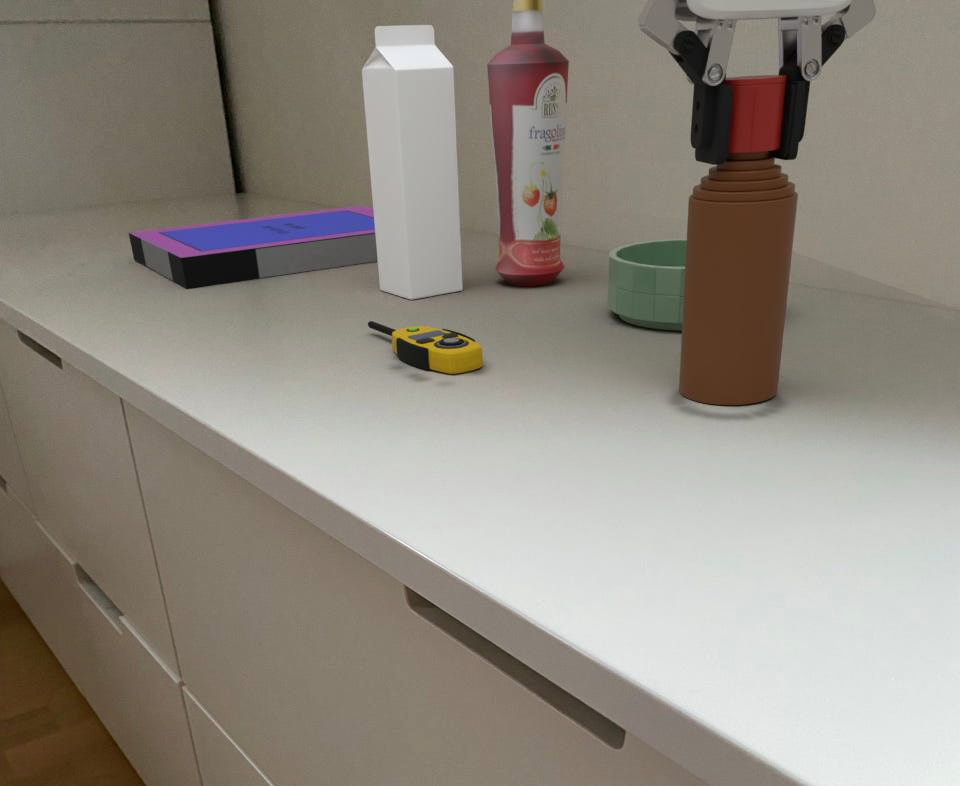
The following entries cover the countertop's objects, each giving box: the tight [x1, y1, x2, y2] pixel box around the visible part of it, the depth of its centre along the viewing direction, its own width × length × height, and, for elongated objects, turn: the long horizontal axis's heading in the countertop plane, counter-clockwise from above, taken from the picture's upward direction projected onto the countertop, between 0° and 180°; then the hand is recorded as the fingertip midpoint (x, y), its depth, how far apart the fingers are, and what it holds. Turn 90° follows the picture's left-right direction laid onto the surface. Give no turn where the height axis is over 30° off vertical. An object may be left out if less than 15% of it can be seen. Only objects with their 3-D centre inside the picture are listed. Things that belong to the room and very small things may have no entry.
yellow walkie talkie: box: [367, 320, 484, 375], centre depth 76 cm, size 5×2×15 cm
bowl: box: [607, 238, 687, 332], centre depth 83 cm, size 13×13×5 cm
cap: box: [725, 74, 786, 153], centre depth 57 cm, size 4×4×4 cm
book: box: [128, 205, 378, 290], centre depth 114 cm, size 21×3×30 cm
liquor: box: [486, 0, 570, 287], centre depth 90 cm, size 7×7×28 cm
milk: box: [361, 24, 464, 301], centre depth 90 cm, size 6×6×22 cm
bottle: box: [678, 151, 799, 406], centre depth 61 cm, size 6×6×18 cm
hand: (745, 156), depth 58 cm, fingers closed on cap, 3 cm apart
